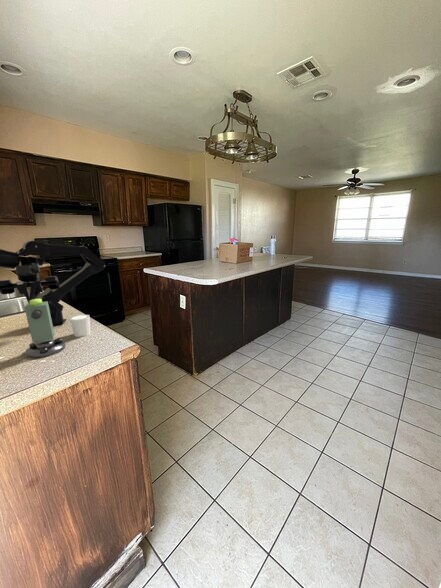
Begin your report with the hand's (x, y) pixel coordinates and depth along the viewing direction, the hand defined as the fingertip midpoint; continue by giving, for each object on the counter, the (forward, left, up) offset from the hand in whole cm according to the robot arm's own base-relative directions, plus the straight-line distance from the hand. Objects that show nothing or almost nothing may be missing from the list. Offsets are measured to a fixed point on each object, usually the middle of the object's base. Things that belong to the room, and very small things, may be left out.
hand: (30, 303), depth 91 cm
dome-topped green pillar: (+14, +8, -11) cm, 19 cm away
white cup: (+2, +16, -14) cm, 21 cm away
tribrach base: (+14, +8, -14) cm, 21 cm away
